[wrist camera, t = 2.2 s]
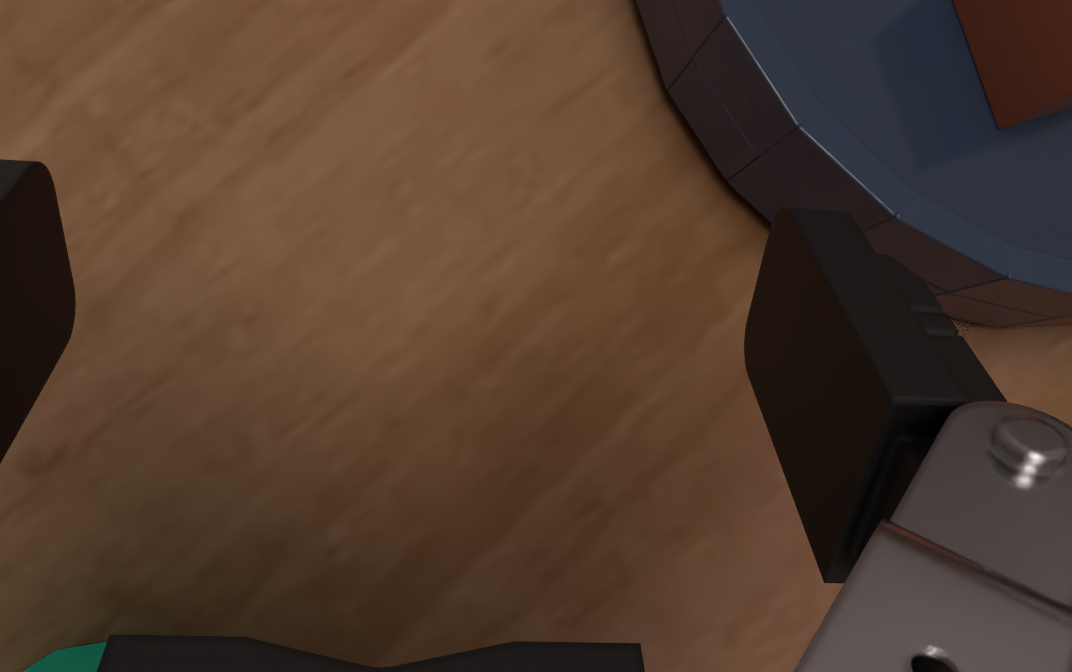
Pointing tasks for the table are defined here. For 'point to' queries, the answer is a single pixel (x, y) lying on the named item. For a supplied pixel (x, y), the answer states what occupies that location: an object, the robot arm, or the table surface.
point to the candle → (71, 659)
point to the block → (1021, 55)
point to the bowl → (880, 140)
